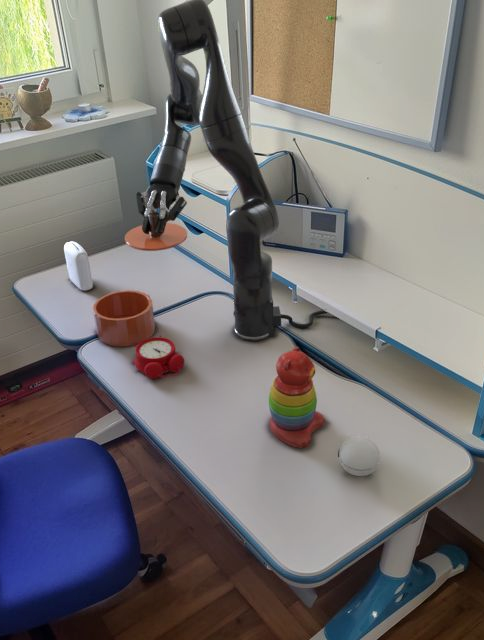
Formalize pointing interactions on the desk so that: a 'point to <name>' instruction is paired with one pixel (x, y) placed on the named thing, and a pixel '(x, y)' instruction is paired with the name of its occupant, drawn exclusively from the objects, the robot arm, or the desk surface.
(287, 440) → the stacking bear
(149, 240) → the lid
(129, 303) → the orange cylindrical pot
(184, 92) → the robot arm
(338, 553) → the desk surface
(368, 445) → the seamed sphere
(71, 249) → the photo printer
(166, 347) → the alarm clock
